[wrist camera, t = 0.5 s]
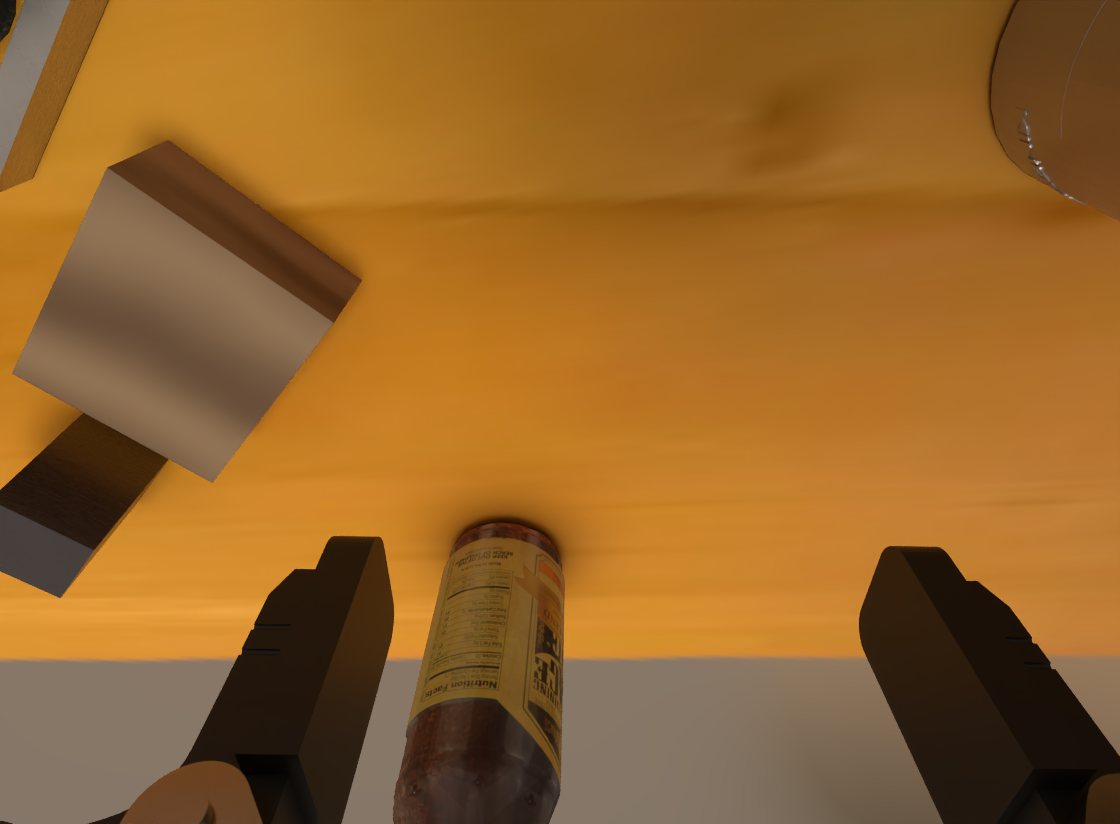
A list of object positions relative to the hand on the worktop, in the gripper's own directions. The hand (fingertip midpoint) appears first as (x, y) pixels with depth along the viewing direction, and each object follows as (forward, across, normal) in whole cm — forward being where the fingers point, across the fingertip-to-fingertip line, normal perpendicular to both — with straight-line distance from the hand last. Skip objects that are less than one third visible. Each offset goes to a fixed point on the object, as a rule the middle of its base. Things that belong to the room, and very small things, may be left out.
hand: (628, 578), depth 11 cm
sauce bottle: (+18, +4, +17) cm, 25 cm away
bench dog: (+18, +23, +11) cm, 31 cm away
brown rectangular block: (+18, +15, +3) cm, 24 cm away
